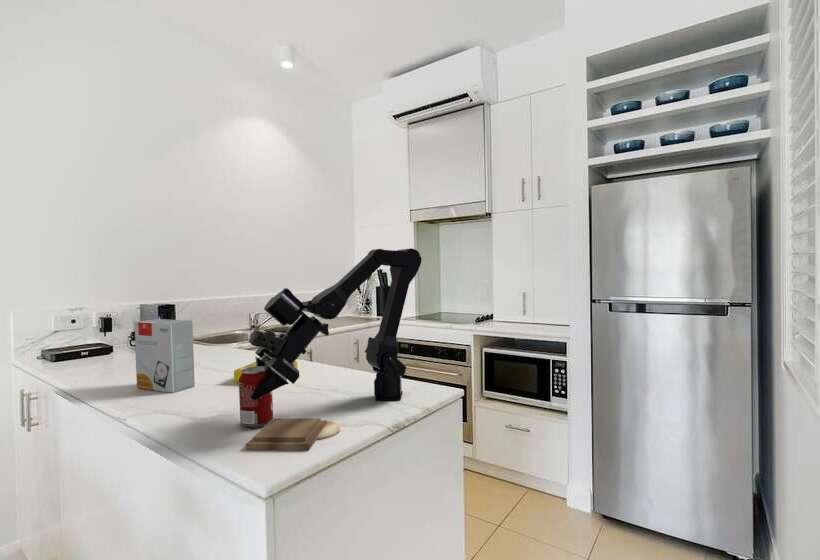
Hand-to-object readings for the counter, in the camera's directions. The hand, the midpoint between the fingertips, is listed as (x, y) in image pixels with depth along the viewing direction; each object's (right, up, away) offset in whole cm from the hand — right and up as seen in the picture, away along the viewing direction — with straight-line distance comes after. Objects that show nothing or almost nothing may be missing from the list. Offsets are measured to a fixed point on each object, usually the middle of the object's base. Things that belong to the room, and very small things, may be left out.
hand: (249, 394), depth 90 cm
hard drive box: (-37, -7, +33) cm, 50 cm away
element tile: (-10, -7, +41) cm, 43 cm away
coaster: (+16, -6, -4) cm, 18 cm away
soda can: (+1, -7, +1) cm, 7 cm away
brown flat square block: (+11, -7, -7) cm, 14 cm away
